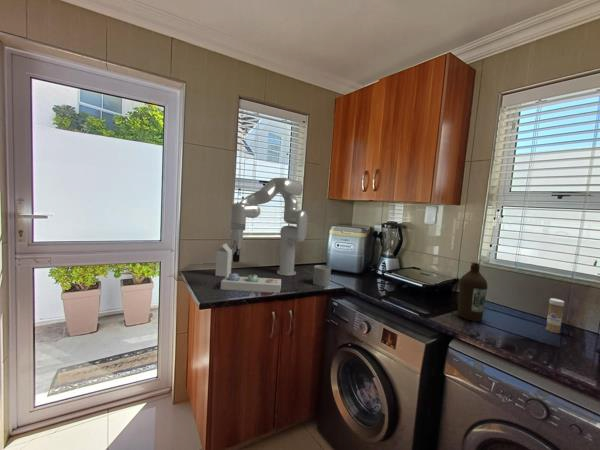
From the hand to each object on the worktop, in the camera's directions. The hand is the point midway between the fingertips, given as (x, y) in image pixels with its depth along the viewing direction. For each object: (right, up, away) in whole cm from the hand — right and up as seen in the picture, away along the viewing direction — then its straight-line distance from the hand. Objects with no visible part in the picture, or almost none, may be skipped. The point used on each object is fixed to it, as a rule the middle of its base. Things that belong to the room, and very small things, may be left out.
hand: (235, 261), depth 148 cm
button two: (-2, -11, +1) cm, 11 cm away
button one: (+18, -14, +1) cm, 23 cm away
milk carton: (-13, -11, +23) cm, 29 cm away
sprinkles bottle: (+139, -25, -31) cm, 145 cm away
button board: (+8, -14, +1) cm, 16 cm away
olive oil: (+110, -23, -21) cm, 115 cm away
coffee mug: (+47, -16, +20) cm, 53 cm away
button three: (+8, -12, +1) cm, 14 cm away
